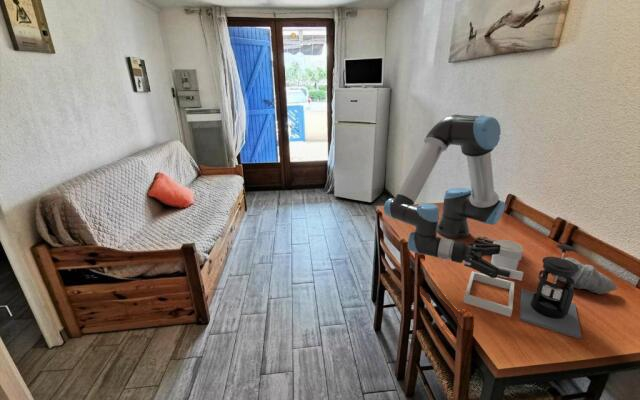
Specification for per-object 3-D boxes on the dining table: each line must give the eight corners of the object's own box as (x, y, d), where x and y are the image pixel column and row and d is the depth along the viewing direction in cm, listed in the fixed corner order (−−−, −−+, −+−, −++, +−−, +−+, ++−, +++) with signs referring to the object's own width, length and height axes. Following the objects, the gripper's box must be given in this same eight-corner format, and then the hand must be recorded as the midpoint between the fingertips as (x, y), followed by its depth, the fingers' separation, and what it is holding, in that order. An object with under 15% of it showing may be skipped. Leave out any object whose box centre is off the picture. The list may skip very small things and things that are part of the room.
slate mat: (519, 320, 96) (520, 317, 95) (521, 291, 109) (521, 289, 109) (580, 339, 88) (581, 336, 88) (573, 305, 101) (574, 303, 101)
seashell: (617, 295, 106) (626, 270, 103) (587, 303, 102) (595, 278, 99) (570, 270, 121) (576, 248, 117) (542, 277, 117) (548, 254, 113)
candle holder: (513, 267, 123) (519, 241, 119) (519, 281, 115) (526, 253, 111) (486, 263, 127) (491, 238, 122) (490, 276, 118) (495, 249, 114)
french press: (522, 298, 104) (537, 238, 96) (550, 297, 104) (567, 237, 96) (546, 323, 93) (565, 257, 85) (577, 322, 93) (599, 257, 85)
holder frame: (463, 302, 104) (464, 295, 103) (470, 277, 118) (472, 271, 117) (510, 317, 97) (512, 309, 96) (512, 289, 110) (514, 282, 109)
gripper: (456, 245, 120) (518, 258, 110) (444, 276, 100) (520, 296, 90) (458, 227, 118) (523, 239, 107) (447, 257, 98) (525, 275, 87)
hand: (522, 265), depth 99 cm, fingers open, 13 cm apart
